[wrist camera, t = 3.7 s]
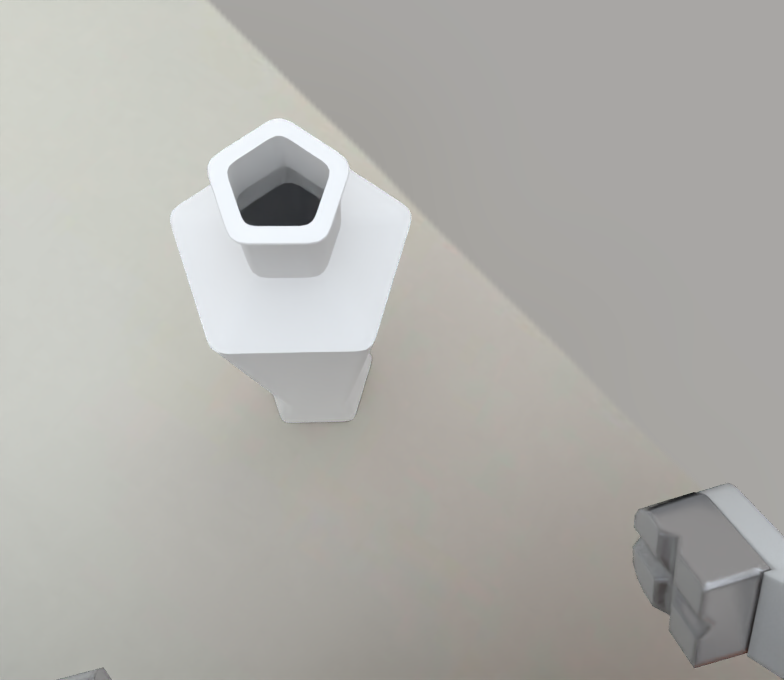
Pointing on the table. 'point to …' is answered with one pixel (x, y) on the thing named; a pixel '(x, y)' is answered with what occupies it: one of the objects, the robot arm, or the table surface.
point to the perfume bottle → (292, 267)
